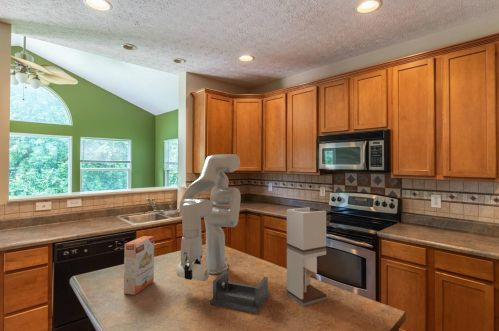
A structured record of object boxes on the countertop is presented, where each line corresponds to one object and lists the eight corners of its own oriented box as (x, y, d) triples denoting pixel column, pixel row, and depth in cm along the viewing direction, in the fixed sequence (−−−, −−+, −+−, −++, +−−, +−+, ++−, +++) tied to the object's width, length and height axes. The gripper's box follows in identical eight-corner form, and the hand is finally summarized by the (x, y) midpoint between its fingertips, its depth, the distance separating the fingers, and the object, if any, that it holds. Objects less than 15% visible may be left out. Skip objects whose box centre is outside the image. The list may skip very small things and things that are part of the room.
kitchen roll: (185, 271, 118) (184, 259, 117) (210, 275, 114) (208, 262, 113) (177, 279, 113) (175, 266, 111) (202, 284, 108) (201, 270, 107)
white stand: (303, 306, 103) (303, 213, 103) (286, 294, 112) (286, 209, 112) (326, 299, 108) (326, 210, 108) (308, 288, 117) (308, 207, 117)
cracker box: (136, 296, 111) (136, 244, 111) (123, 294, 112) (123, 243, 112) (154, 281, 125) (154, 235, 125) (143, 280, 126) (142, 235, 126)
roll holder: (227, 287, 119) (227, 268, 119) (269, 294, 112) (269, 274, 112) (209, 304, 104) (209, 283, 104) (256, 314, 97) (256, 291, 97)
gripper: (195, 226, 121) (196, 266, 122) (171, 237, 105) (172, 283, 106) (210, 227, 119) (211, 268, 119) (187, 239, 103) (189, 286, 103)
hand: (193, 275), depth 113 cm, fingers closed on kitchen roll, 6 cm apart
